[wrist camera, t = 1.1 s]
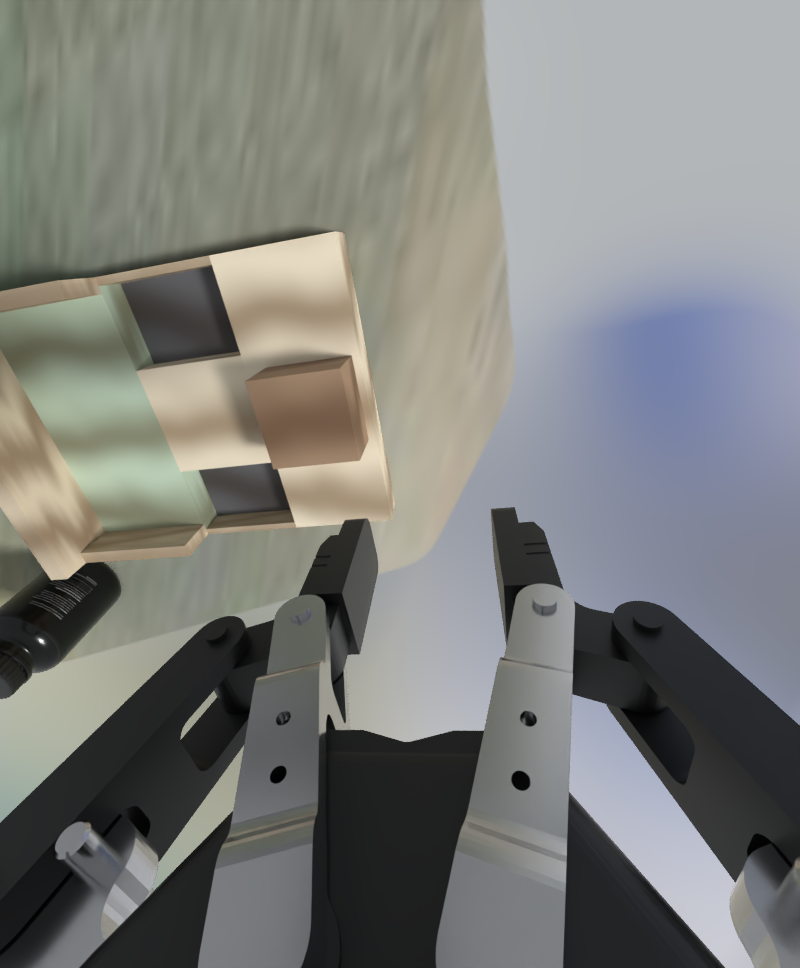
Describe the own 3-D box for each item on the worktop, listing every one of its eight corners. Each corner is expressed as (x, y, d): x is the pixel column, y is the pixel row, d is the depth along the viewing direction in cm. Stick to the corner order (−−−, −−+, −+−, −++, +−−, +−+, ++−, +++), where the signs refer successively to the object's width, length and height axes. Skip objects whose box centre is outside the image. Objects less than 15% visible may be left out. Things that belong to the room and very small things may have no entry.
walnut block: (266, 367, 29) (244, 381, 26) (351, 355, 28) (339, 368, 25) (290, 448, 32) (273, 469, 29) (368, 439, 31) (359, 460, 28)
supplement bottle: (44, 560, 44) (-83, 658, 33) (95, 545, 42) (-23, 643, 31) (88, 608, 47) (-16, 712, 36) (137, 596, 45) (42, 701, 34)
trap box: (-12, 300, 31) (-134, 313, 25) (344, 232, 27) (310, 227, 20) (115, 526, 40) (51, 580, 34) (394, 503, 36) (382, 560, 30)
